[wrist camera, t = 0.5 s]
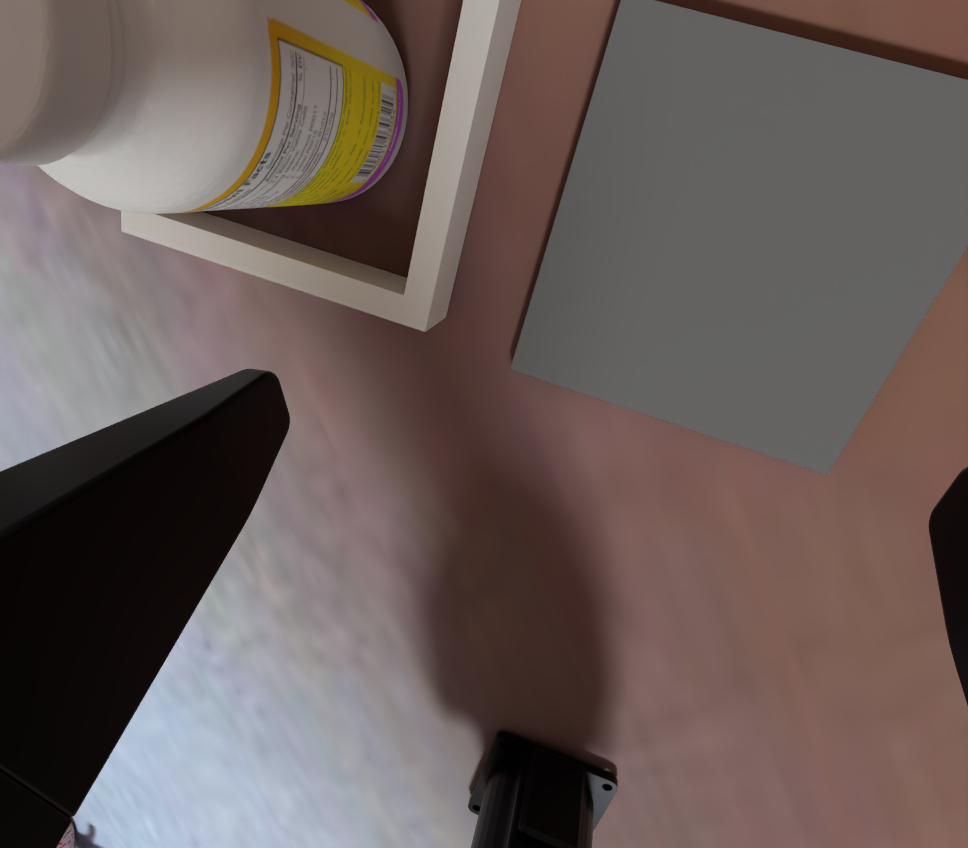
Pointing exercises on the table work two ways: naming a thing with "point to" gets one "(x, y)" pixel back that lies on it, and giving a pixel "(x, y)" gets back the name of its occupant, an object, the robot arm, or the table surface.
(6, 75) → the supplement bottle
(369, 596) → the table surface
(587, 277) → the mat
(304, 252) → the holder
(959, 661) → the robot arm
